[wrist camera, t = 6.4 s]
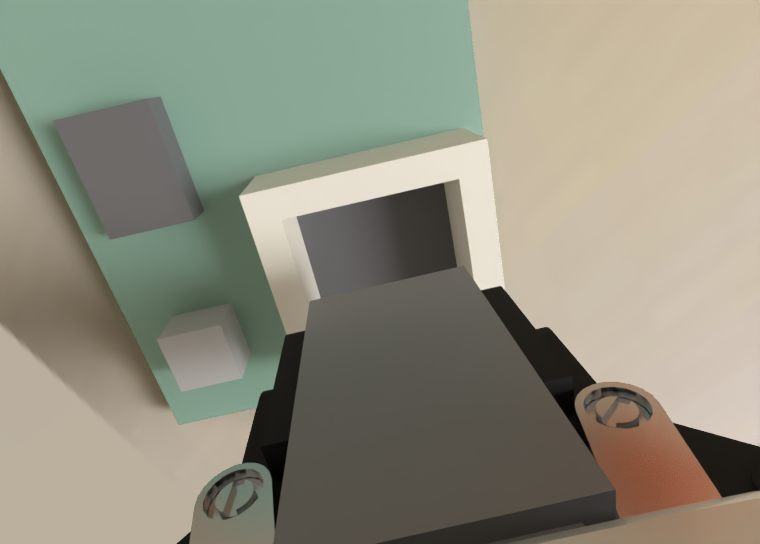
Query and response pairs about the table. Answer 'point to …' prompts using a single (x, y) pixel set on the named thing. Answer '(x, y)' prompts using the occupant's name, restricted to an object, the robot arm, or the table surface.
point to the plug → (428, 427)
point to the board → (255, 164)
